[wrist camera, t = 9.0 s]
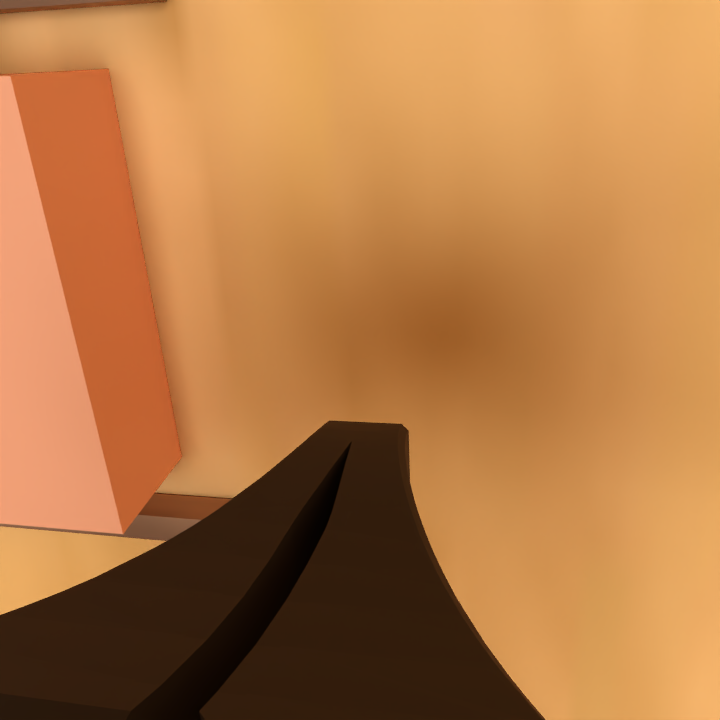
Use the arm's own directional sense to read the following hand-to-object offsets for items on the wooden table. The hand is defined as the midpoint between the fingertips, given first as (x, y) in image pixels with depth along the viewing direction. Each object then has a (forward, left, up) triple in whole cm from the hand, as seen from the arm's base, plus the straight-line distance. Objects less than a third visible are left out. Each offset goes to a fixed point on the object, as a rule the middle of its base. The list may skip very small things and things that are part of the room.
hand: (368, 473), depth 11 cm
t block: (0, +14, -8) cm, 16 cm away
